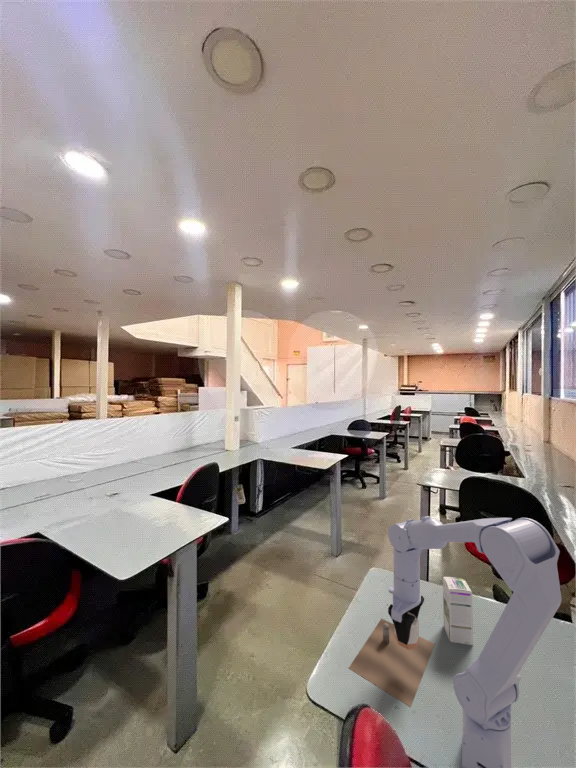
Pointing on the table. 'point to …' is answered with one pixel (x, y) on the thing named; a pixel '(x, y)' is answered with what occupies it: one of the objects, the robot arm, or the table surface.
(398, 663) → the pin board
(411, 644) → the sleeve
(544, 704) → the table surface
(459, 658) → the table surface
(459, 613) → the syrup box
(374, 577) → the table surface
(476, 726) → the robot arm
